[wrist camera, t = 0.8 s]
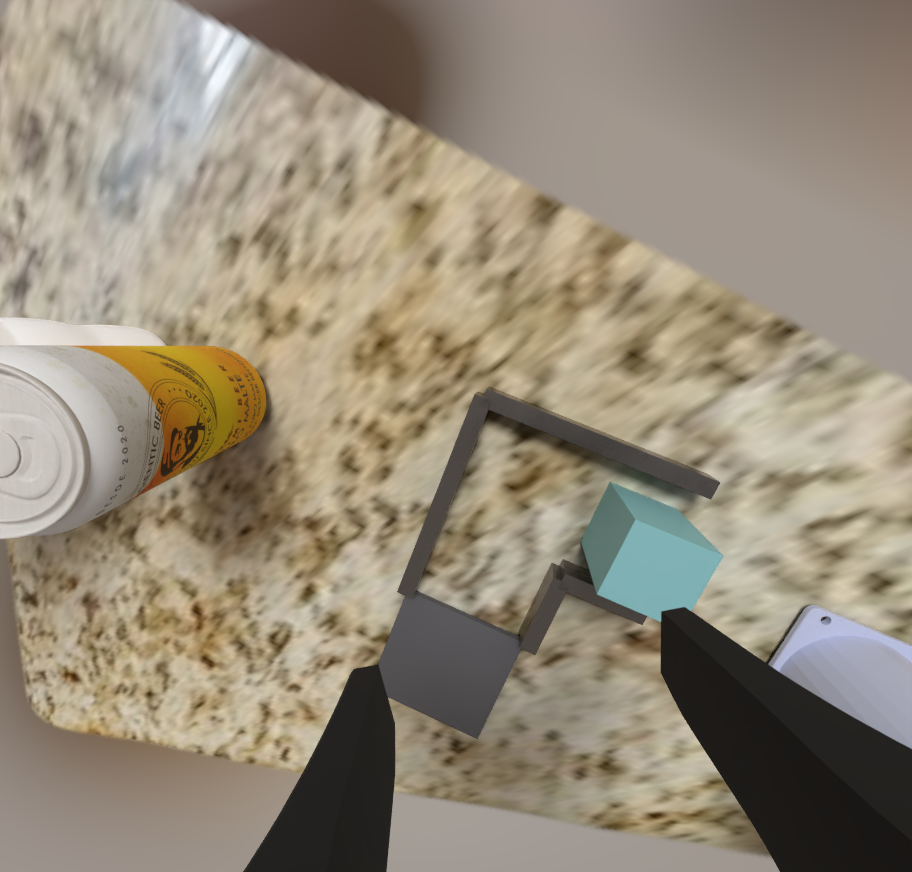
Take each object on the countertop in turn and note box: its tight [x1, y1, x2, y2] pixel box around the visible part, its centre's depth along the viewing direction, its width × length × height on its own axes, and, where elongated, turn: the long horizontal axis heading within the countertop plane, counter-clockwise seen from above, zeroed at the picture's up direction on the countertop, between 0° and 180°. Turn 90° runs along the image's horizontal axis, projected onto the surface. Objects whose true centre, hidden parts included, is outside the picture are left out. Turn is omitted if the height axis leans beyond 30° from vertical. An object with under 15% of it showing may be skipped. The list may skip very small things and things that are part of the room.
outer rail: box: [397, 387, 720, 598], centre depth 25 cm, size 14×14×2 cm
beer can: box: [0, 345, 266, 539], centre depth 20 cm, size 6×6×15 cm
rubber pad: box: [378, 591, 521, 739], centre depth 29 cm, size 8×8×1 cm
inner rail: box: [519, 559, 647, 655], centre depth 26 cm, size 6×6×2 cm
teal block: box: [581, 482, 723, 622], centre depth 22 cm, size 4×4×6 cm
